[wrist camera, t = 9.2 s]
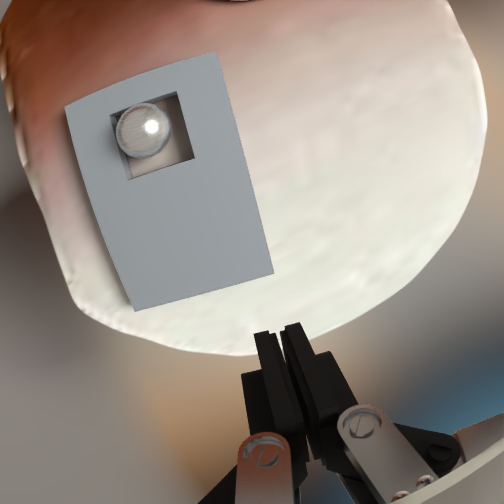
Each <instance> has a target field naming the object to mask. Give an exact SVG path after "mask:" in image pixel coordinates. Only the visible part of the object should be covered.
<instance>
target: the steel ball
mask: <svg viewBox="0 0 504 504" xmlns="http://www.w3.org/2000/svg"><path fill="white" fill-rule="evenodd" d="M171 134H172V124H171V120H170V117H169V116H168V114H167V113H166V111H165V110H163V109H162V108H161V107H159V106H157V105H155V104H152V103H140V104H136V105H134V106H132V107H130V108H129V109H127V110H126V111H125V112H124V113H123V114H122V116H121V117H120V119H119V121H118V123H117V127H116V139H117V142H118V144H119V146H120V148H121V149H122V150H123V151H124V152H125V153H126V154H128V155H129V156H131V157H134V158H140V159H144V158H150V157H153V156H155V155H157V154H158V153H160V152H161V151H162V150H163V149H164V148H165V147H166V146H167V144H168V142H169V140H170V138H171Z"/></svg>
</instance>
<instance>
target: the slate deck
mask: <svg viewBox="0 0 504 504" xmlns="http://www.w3.org/2000/svg"><path fill="white" fill-rule="evenodd" d="M175 95H178V98H179V101H180V105H181V109H182V112H183V116H184V120H185V124H186V127H187V131H188V135H189V138H190V142H191V145H192V149H193V152H194V156H195V158H194V159H190V160H187V161H184V162H181V163H177V164H174V165H171V166H168V167H165V168H162V169H159V170H156V171H153V172H150V173H147V174H144V175H141V176H138V177H136V178H133V177H132V174H131V171H130V167H129V164H128V161H127V157H126V154H125V152H124V151H123V150H122V149H121V148H120V146H119V144H118V142H117V139H116V127H117V121H116V116H119V115H121V114H123V113H124V112H125V111H126V110H127V109H129V108H130V107H132V106H134V105H136V104H140V103H154V102H157V101H160V100H163V99H166V98H169V97H172V96H175ZM65 112H66V116H67V121H68V125H69V129H70V133H71V137H72V141H73V145H74V149H75V152H76V156H77V160H78V163H79V167H80V170H81V173H82V177H83V180H84V183H85V186H86V190H87V193H88V196H89V199H90V202H91V205H92V208H93V211H94V213H95V216H96V219H97V222H98V225H99V227H100V230H101V233H102V235H103V238H104V241H105V243H106V246H107V248H108V251H109V253H110V256H111V258H112V261H113V263H114V266H115V268H116V270H117V273H118V275H119V278H120V280H121V282H122V284H123V287H124V289H125V291H126V293H127V296H128V298H129V300H130V302H131V304H132V306H133V308H134V311H135V312H136V311H140V310H144V309H148V308H151V307H155V306H159V305H163V304H167V303H170V302H174V301H178V300H182V299H185V298H189V297H193V296H196V295H200V294H204V293H207V292H211V291H215V290H218V289H222V288H225V287H229V286H233V285H236V284H240V283H243V282H247V281H250V280H254V279H257V278H261V277H264V276H268V275H271V274H274V270H273V266H272V262H271V258H270V254H269V250H268V246H267V242H266V238H265V234H264V230H263V226H262V222H261V218H260V214H259V210H258V206H257V202H256V198H255V194H254V190H253V186H252V183H251V179H250V175H249V171H248V167H247V163H246V159H245V156H244V152H243V148H242V144H241V140H240V137H239V133H238V129H237V125H236V122H235V118H234V114H233V110H232V107H231V103H230V99H229V96H228V92H227V88H226V85H225V81H224V77H223V74H222V70H221V66H220V63H219V59H218V56H217V52H212V53H208V54H204V55H200V56H197V57H193V58H189V59H186V60H182V61H179V62H175V63H172V64H169V65H165V66H162V67H159V68H156V69H153V70H150V71H147V72H145V73H142V74H139V75H136V76H134V77H131V78H128V79H126V80H123V81H121V82H118V83H116V84H113V85H111V86H108V87H106V88H104V89H101V90H99V91H97V92H95V93H92V94H90V95H88V96H86V97H84V98H82V99H80V100H77V101H75V102H73V103H71V104H69V105H67V106H65Z"/></svg>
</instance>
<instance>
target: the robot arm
mask: <svg viewBox="0 0 504 504" xmlns="http://www.w3.org/2000/svg"><path fill="white" fill-rule="evenodd" d="M231 1H247V0H231ZM280 336H281V341H282V346H283V351H284V356H285V360H284V357H283V354H282V351H281V348H280V345H279V342H278V339H277V336H276V333H272V334H269V331H268V330H267V331H263V332H259V333H255V334H254V338H255V343H256V347H257V351H258V356H259V360H260V364H261V368H262V369H260V370H256V371H252V372H247V373H243V374H241V379H242V385H243V391H244V398H245V405H246V411H247V417H248V423H249V429H250V435H251V436H250V437H248V438H247V439H246V440H245V441H243V443H242V444H241V446H240V448H239V451H238V459H237V465H236V466H235V467H234V468H233V469H232V470H231V471H230V472H229V473H228V474H227V475H226V476H225V477H224V478H223V479H222V480H221V481H220V482H219V483H218V484H217V485H216V486H215V487H214V488H213V489H212V490H211V491H210V492H209V493H208V494H207V495H206V496H205V497H204V498H203V499H202V500H201V501H200V502H199V503H198V504H301V498H300V487H299V486H300V485H301V483H302V482H303V481H304V479H305V478H306V477H307V475H308V474H307V468H306V462H310V459H309V452H308V446H307V439H308V442H309V445H310V448H311V451H312V454H313V457H314V460H317V459H321V462H322V465H326V468H327V470H330V471H333V472H335V473H337V474H338V477H339V479H340V480H341V482H342V483H343V485H344V487H345V488H346V490H347V492H348V493H349V495H350V497H351V498H352V500H353V501H354V503H355V504H504V413H501V414H499V415H496V416H493V417H491V418H489V419H486V420H484V421H481V422H479V423H476V424H473V425H471V426H468V427H465V428H463V429H460V430H457V431H456V433H454V434H452V435H447V434H444V433H438V432H433V431H428V430H423V429H418V428H413V427H409V426H404V425H400V424H396V423H392V422H391V421H390V419H389V418H388V417H387V416H386V414H385V413H384V412H383V411H382V410H381V409H379V408H378V407H375V406H373V405H368V404H361V405H359V404H358V402H357V400H356V398H355V397H354V395H353V393H352V391H351V389H350V387H349V385H348V383H347V381H346V379H345V378H344V376H343V374H342V372H341V370H340V368H339V366H338V364H337V362H336V361H335V359H334V357H333V355H332V353H331V352H330V351H327V352H324V353H320V354H317V355H315V354H314V351H313V349H312V347H311V345H310V343H309V341H308V338H307V336H306V334H305V332H304V330H303V328H302V326H301V324H300V322H298V323H295V324H291V325H287V326H285V330H284V331H280ZM285 361H286V363H285ZM306 436H307V439H306Z"/></svg>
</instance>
